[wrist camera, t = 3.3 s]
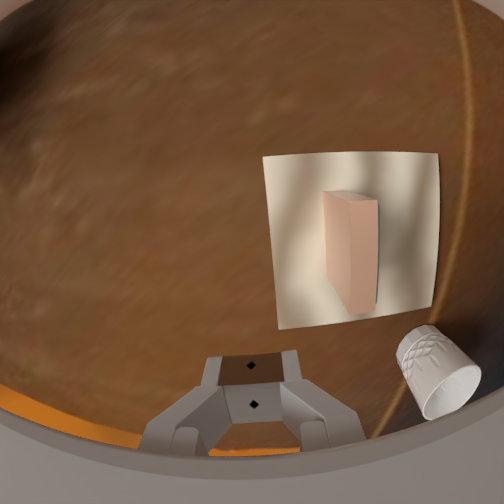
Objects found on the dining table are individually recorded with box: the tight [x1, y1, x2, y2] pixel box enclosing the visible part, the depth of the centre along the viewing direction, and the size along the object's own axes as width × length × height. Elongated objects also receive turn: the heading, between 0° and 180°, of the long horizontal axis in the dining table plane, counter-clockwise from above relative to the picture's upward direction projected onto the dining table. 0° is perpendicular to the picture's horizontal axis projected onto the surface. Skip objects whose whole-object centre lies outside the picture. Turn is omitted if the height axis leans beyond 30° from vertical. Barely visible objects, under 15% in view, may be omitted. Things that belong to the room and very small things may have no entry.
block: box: [322, 190, 380, 315], centre depth 22 cm, size 2×8×8 cm, turn 6°
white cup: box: [396, 325, 481, 420], centre depth 26 cm, size 8×8×10 cm
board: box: [263, 152, 440, 330], centre depth 26 cm, size 18×17×1 cm
